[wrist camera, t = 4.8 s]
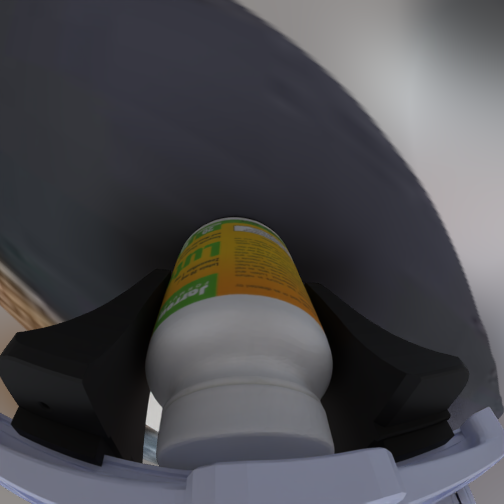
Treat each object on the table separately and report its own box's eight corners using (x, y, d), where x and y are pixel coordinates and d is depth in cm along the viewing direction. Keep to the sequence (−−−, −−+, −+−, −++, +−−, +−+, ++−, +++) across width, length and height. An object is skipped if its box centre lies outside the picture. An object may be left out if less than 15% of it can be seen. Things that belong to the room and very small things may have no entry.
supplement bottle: (212, 192, 12) (173, 367, 3) (311, 250, 14) (411, 425, 5) (160, 285, 14) (104, 469, 5) (251, 328, 15) (273, 502, 6)
